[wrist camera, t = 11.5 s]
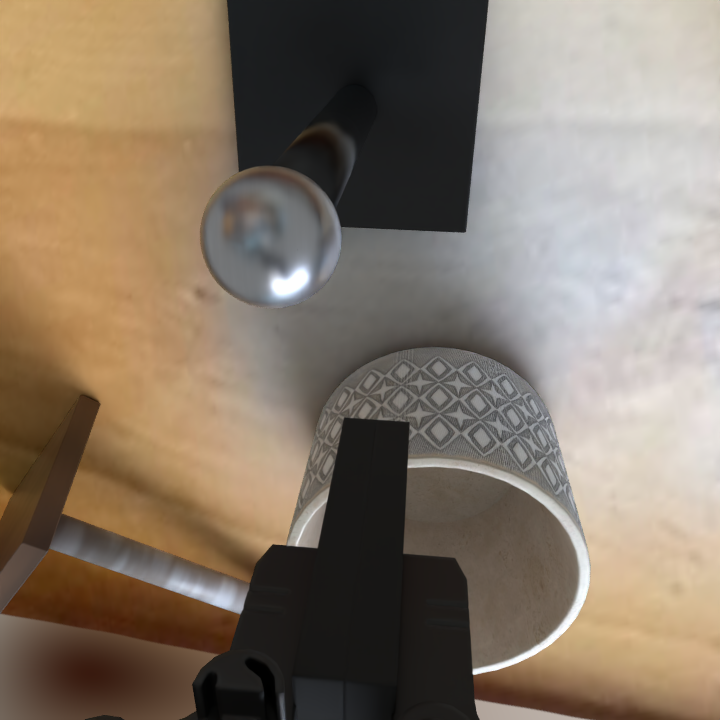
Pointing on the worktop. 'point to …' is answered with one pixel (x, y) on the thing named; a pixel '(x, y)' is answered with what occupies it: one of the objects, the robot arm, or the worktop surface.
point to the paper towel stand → (90, 529)
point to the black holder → (341, 134)
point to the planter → (470, 491)
